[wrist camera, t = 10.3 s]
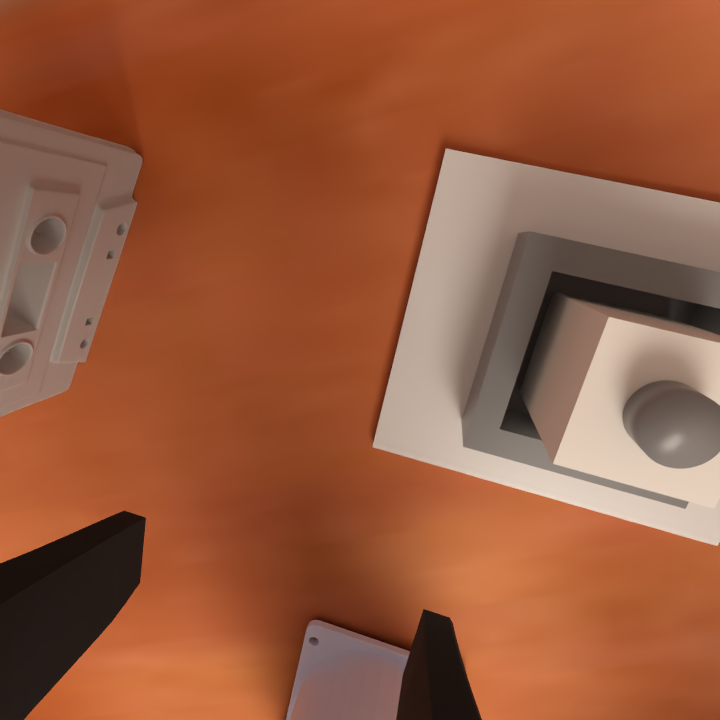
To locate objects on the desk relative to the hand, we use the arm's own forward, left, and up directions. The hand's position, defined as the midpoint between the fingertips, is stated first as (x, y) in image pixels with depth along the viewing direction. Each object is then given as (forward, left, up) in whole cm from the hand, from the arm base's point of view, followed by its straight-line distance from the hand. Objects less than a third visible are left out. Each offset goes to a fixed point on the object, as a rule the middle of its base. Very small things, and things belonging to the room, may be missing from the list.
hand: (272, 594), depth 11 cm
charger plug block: (+6, -8, -9) cm, 13 cm away
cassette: (+4, +13, -10) cm, 17 cm away
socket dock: (+6, -8, -9) cm, 14 cm away
